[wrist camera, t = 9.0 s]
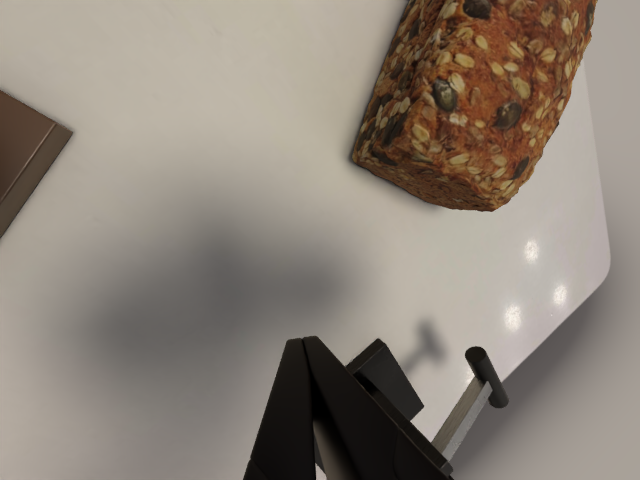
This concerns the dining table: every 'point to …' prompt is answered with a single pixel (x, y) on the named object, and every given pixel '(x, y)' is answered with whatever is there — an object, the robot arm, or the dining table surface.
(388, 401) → the bracket
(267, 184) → the dining table surface
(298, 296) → the dining table surface
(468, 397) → the lever
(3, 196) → the button box
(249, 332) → the dining table surface
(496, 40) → the bread
